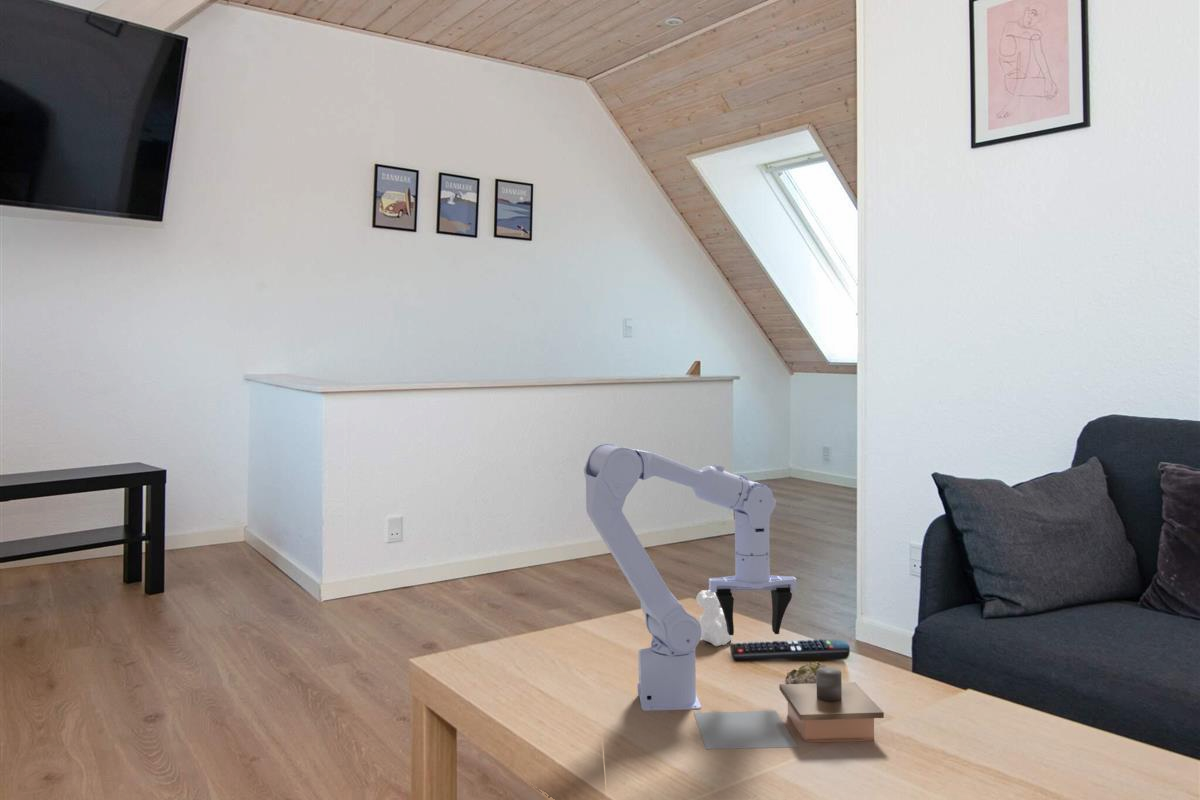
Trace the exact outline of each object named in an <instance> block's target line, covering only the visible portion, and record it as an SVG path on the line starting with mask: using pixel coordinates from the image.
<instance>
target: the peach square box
mask: <svg viewBox="0 0 1200 800" xmlns="http://www.w3.org/2000/svg"><path fill="white" fill-rule="evenodd" d="M787 717H789V719H790V720H791V723H792V724H793V725H794V727H795V728H796V730H797V731H798V733H799V735H800V736H801V738H802V740H803V741H804V742H805V743H825V742H826V743H827V742H828V743H829V742H857V741H859V742H861V741H862V742H863V741H867V740H869V741H875V718H865V719H831V720H800V719H799V717H798V716H797V715H796V713H795V712H794V710H793V709H792V707H791V706H790V704H789V703H788V702H787Z"/></svg>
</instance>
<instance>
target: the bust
mask: <svg viewBox="0 0 1200 800" xmlns="http://www.w3.org/2000/svg"><path fill="white" fill-rule="evenodd" d="M695 599H696V603H697V604H698V606H700V607H701V608H703V611H702V614H700V616H699V619H698V622H699V623H700V626H701V639H702V640H703V641H705V642H708V643H710V644H711V645H713V646H714V647H719V646H726V645H727V643H729V642H731V640H732V638H733V636H734V635H729V634H728V632H727V625H726V620H725V616H724V613H723V610H722V607H721V605H720V602H719V600H718V598H717V596H716V594H715V592H710V590H709V589H708V590H705V589H704V590H703V589H701V591H699V593H698V594H697V595H696V597H695ZM725 644H726V645H725Z"/></svg>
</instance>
